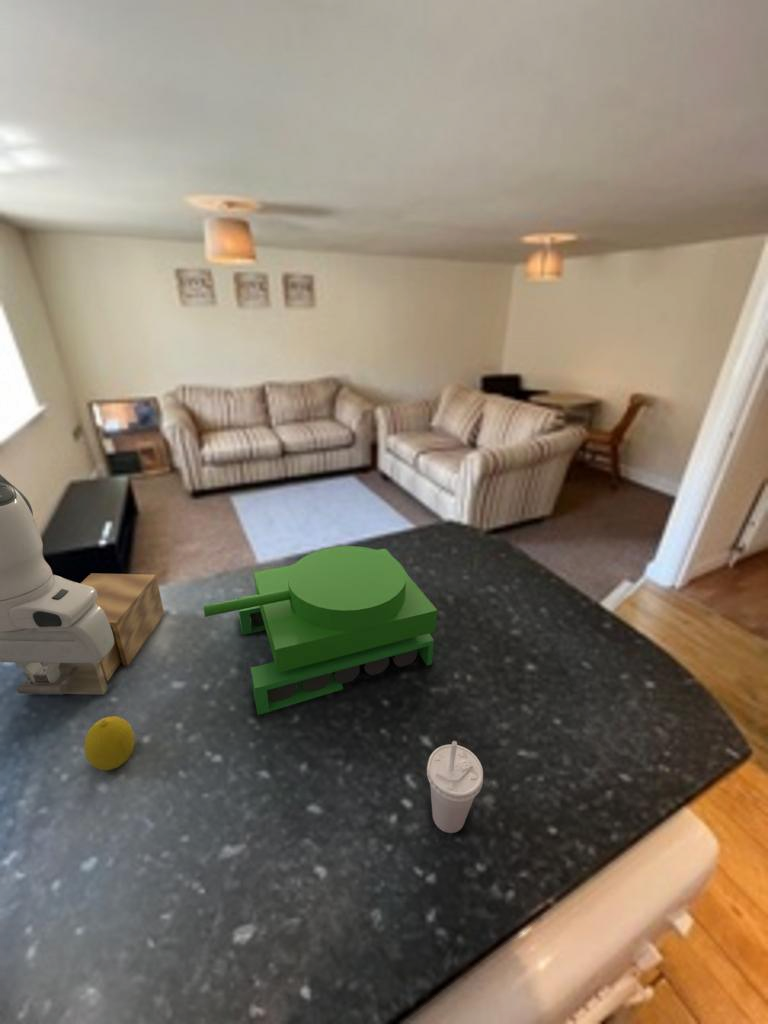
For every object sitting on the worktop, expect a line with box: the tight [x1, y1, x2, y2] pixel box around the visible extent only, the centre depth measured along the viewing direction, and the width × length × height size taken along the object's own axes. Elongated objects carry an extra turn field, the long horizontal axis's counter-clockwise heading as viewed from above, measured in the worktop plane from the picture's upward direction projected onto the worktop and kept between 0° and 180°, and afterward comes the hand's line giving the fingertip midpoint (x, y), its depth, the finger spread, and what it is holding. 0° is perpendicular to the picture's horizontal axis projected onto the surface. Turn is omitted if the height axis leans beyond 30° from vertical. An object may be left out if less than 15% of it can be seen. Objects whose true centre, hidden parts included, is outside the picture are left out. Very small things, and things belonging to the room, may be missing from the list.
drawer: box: [16, 626, 122, 696], centre depth 72 cm, size 18×11×8 cm, turn 0°
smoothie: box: [426, 740, 484, 834], centre depth 52 cm, size 6×6×14 cm
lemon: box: [84, 715, 136, 771], centre depth 59 cm, size 6×6×8 cm
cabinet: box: [80, 572, 165, 667], centre depth 80 cm, size 14×12×10 cm
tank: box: [203, 545, 438, 716], centre depth 78 cm, size 24×35×16 cm
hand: (47, 679), depth 65 cm, fingers closed, pressing on drawer
